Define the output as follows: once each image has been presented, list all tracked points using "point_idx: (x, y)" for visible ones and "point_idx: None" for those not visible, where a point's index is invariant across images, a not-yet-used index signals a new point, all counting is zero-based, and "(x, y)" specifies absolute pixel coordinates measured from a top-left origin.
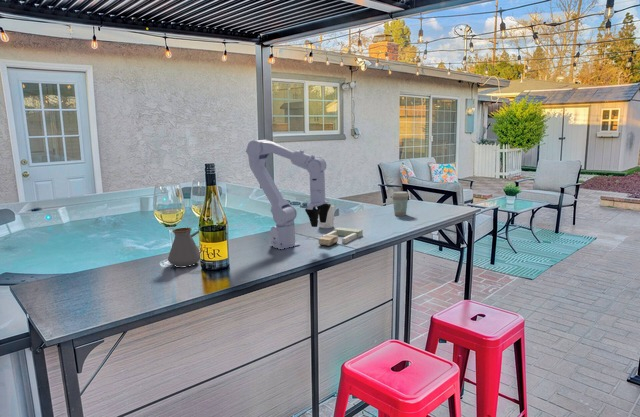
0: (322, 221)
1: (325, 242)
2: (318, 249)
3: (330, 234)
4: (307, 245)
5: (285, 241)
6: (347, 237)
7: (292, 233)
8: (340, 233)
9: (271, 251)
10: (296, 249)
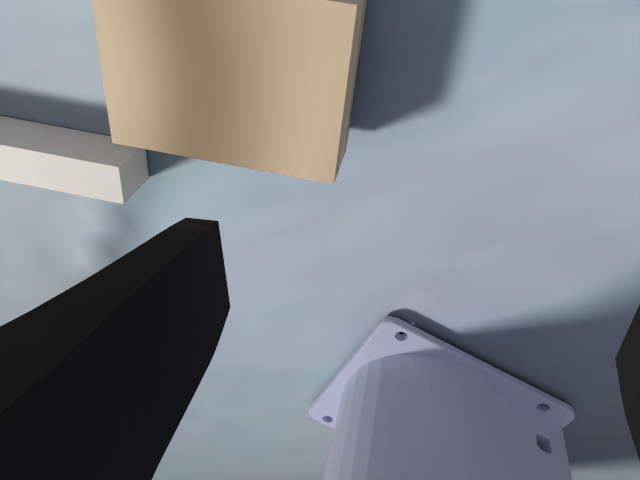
0: (216, 285)
1: (354, 62)
2: (492, 89)
3: (7, 142)
4: (364, 252)
5: (508, 439)
6: None
7: (444, 463)
8: None
9: (622, 448)
10: (530, 301)
